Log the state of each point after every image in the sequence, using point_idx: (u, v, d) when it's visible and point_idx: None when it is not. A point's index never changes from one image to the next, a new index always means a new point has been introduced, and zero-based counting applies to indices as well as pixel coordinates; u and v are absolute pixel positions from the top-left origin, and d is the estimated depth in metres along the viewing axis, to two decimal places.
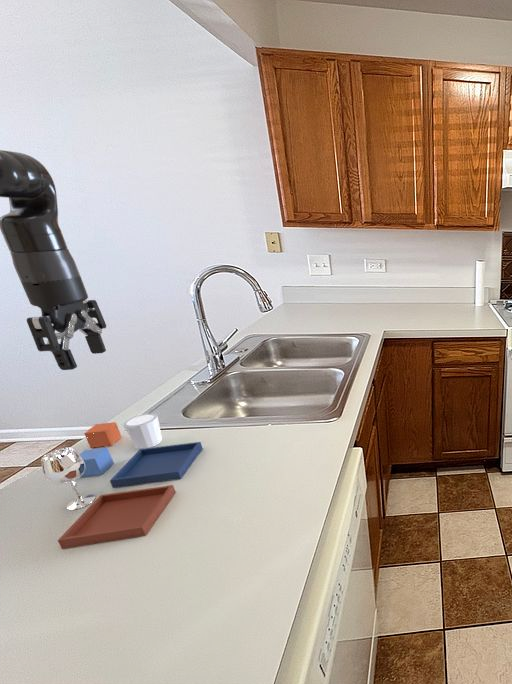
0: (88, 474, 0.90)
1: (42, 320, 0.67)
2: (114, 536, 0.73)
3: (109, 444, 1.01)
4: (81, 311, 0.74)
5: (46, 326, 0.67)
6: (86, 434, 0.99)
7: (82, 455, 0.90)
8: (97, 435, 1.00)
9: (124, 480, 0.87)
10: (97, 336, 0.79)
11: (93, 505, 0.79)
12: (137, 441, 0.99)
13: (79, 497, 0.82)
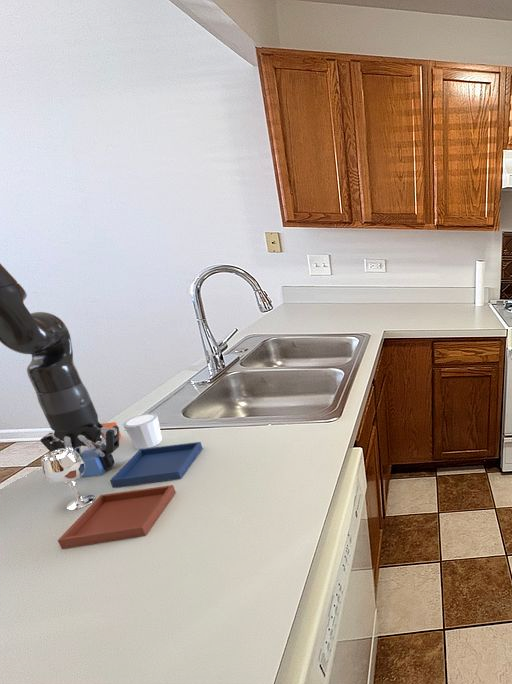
0: (88, 474, 0.90)
1: None
2: (114, 536, 0.73)
3: None
4: (79, 435, 0.87)
5: (44, 444, 0.87)
6: None
7: (82, 455, 0.90)
8: None
9: (124, 480, 0.87)
10: None
11: (93, 505, 0.79)
12: (137, 441, 0.99)
13: (79, 497, 0.82)
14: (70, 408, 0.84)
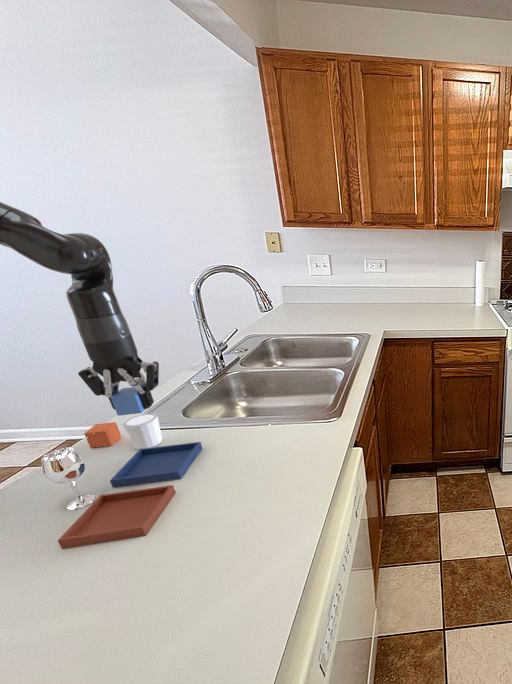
0: (127, 412, 0.85)
1: None
2: (114, 536, 0.73)
3: (109, 444, 1.01)
4: (119, 368, 0.82)
5: (82, 378, 0.82)
6: (86, 434, 0.99)
7: (121, 392, 0.86)
8: (97, 435, 1.00)
9: (124, 480, 0.87)
10: (139, 395, 0.86)
11: (93, 505, 0.79)
12: (137, 441, 0.99)
13: (79, 497, 0.82)
14: (111, 337, 0.79)
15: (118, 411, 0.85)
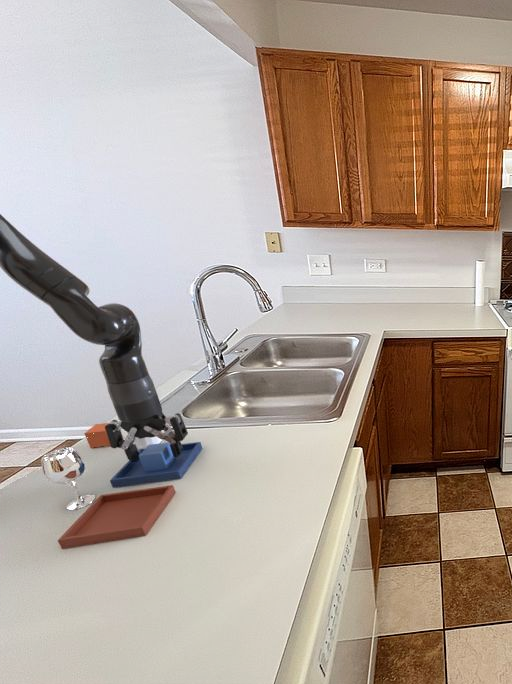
0: (154, 468, 0.91)
1: None
2: (114, 536, 0.73)
3: (109, 444, 1.01)
4: (145, 426, 0.87)
5: (106, 431, 0.87)
6: (86, 434, 0.99)
7: (148, 450, 0.91)
8: (97, 435, 1.00)
9: (124, 480, 0.87)
10: (170, 445, 0.91)
11: (93, 505, 0.79)
12: (137, 441, 0.99)
13: (79, 497, 0.82)
14: (139, 399, 0.84)
15: (146, 468, 0.91)
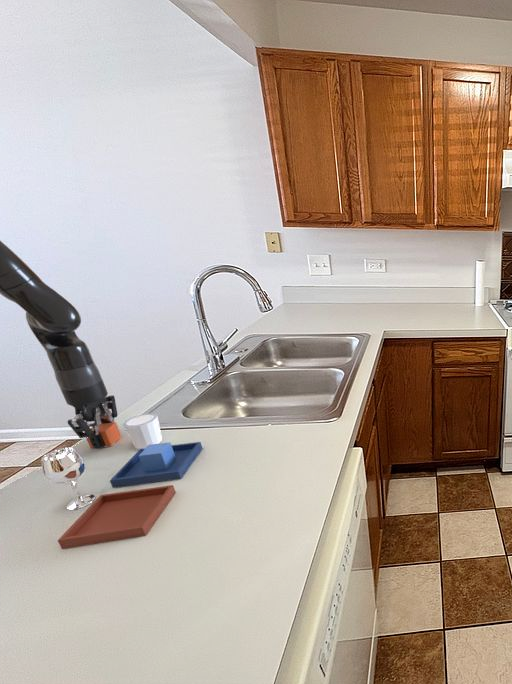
0: (154, 468, 0.91)
1: (78, 422, 0.93)
2: (114, 536, 0.73)
3: (109, 444, 1.01)
4: (103, 403, 1.00)
5: (82, 425, 0.94)
6: None
7: (148, 450, 0.91)
8: None
9: (124, 480, 0.87)
10: None
11: (93, 505, 0.79)
12: (137, 441, 0.99)
13: (79, 497, 0.82)
14: (100, 376, 0.99)
15: (146, 468, 0.91)
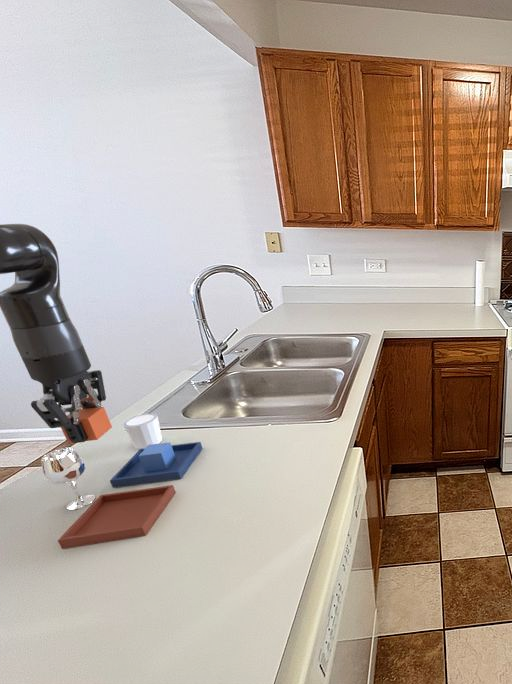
0: (154, 468, 0.91)
1: (47, 404, 0.64)
2: (114, 536, 0.73)
3: (94, 437, 0.72)
4: (84, 380, 0.71)
5: (53, 409, 0.65)
6: None
7: (148, 450, 0.91)
8: None
9: (124, 480, 0.87)
10: None
11: (93, 505, 0.79)
12: (137, 441, 0.99)
13: (79, 497, 0.82)
14: (80, 340, 0.70)
15: (146, 468, 0.91)
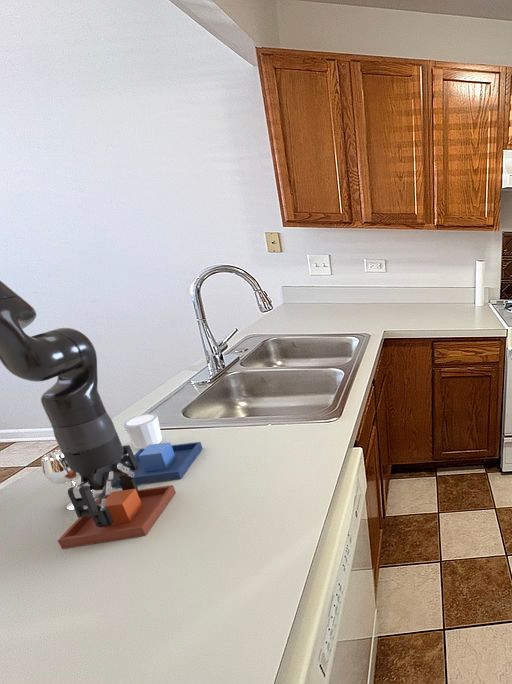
0: (154, 468, 0.91)
1: (82, 490, 0.68)
2: (114, 536, 0.73)
3: (127, 520, 0.76)
4: (117, 465, 0.75)
5: (86, 495, 0.68)
6: None
7: (148, 450, 0.91)
8: (112, 510, 0.75)
9: None
10: (130, 480, 0.80)
11: None
12: (137, 441, 0.99)
13: None
14: (114, 428, 0.74)
15: (146, 468, 0.91)
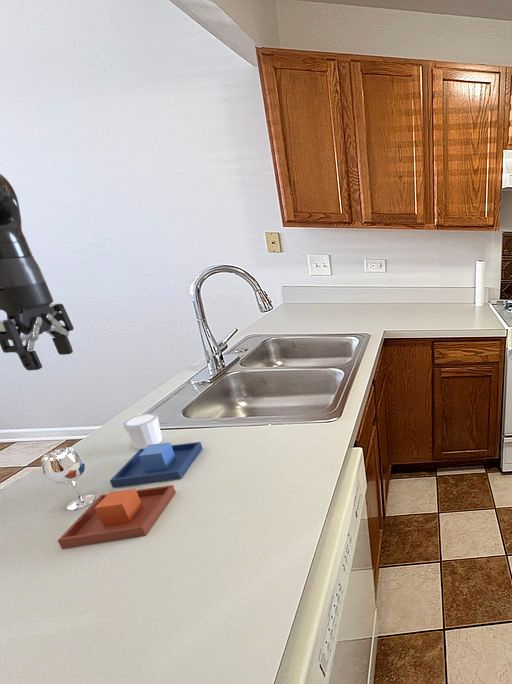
0: (154, 468, 0.91)
1: (6, 323, 0.71)
2: (114, 536, 0.73)
3: (127, 520, 0.76)
4: (47, 314, 0.78)
5: (10, 329, 0.71)
6: (97, 509, 0.74)
7: (148, 450, 0.91)
8: (112, 510, 0.75)
9: (124, 480, 0.87)
10: (64, 338, 0.83)
11: (93, 505, 0.79)
12: (137, 441, 0.99)
13: (79, 497, 0.82)
14: (43, 277, 0.77)
15: (146, 468, 0.91)
